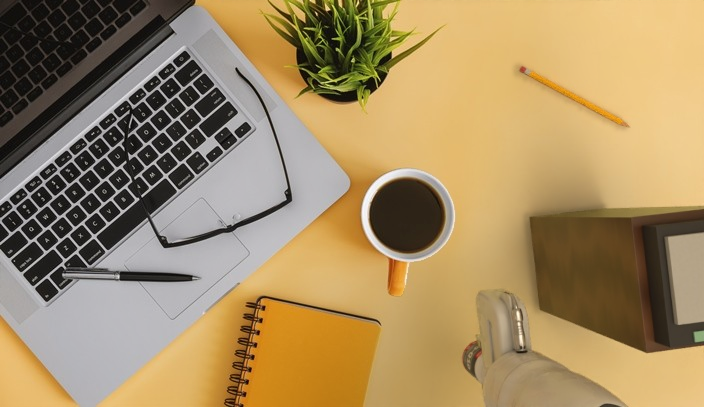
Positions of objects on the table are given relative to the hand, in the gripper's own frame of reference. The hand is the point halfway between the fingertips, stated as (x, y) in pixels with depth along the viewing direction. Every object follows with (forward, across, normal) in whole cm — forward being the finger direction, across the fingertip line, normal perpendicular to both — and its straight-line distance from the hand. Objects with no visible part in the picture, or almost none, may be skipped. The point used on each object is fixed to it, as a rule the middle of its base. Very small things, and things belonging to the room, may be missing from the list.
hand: (485, 363), depth 71 cm
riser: (+10, -11, +18) cm, 24 cm away
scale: (-16, -10, +18) cm, 26 cm away
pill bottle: (+3, 0, 0) cm, 3 cm away
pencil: (+10, -35, +22) cm, 42 cm away
